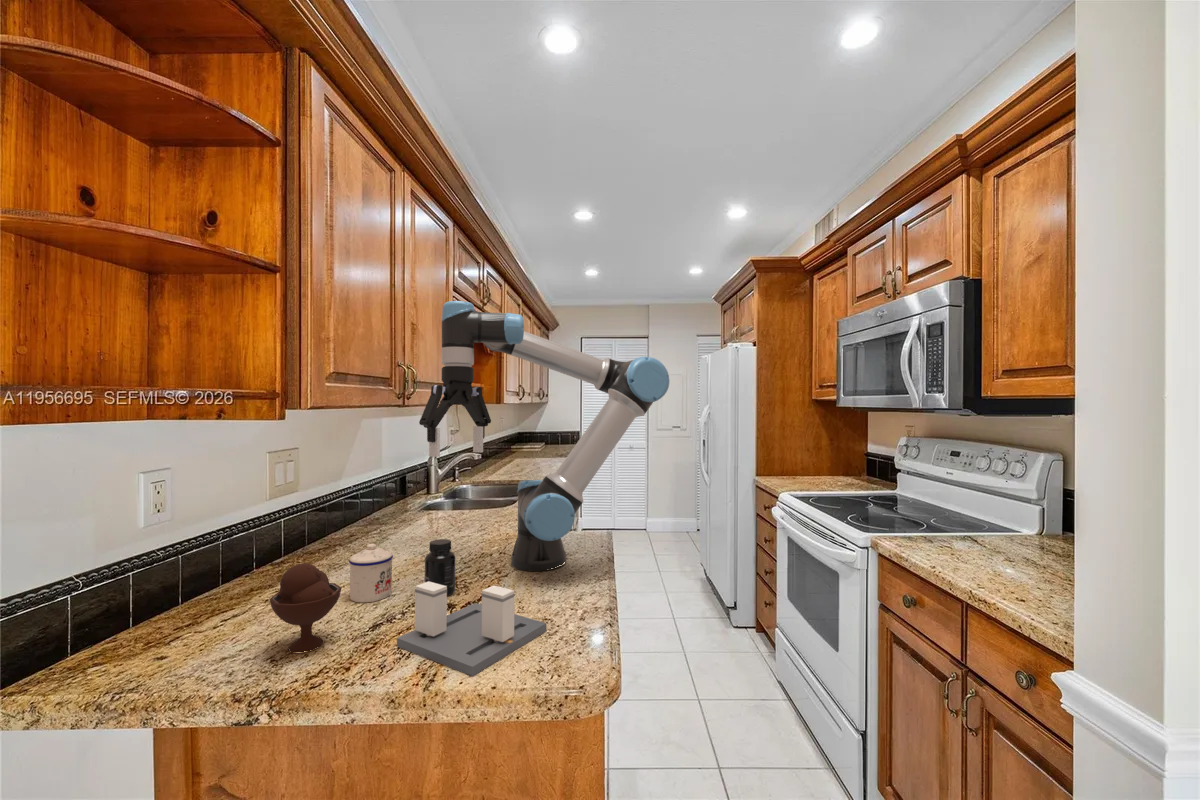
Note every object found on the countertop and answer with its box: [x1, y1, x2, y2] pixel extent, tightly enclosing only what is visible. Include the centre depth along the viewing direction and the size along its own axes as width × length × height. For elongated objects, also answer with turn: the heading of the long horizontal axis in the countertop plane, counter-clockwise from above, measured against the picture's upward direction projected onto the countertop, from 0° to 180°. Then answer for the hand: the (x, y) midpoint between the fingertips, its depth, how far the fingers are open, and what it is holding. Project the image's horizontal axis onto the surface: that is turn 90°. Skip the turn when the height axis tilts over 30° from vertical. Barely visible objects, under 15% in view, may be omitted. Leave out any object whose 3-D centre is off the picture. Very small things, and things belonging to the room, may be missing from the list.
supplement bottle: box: [423, 538, 456, 598], centre depth 115 cm, size 7×7×12 cm
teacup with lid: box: [348, 543, 394, 603], centre depth 115 cm, size 12×9×12 cm
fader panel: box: [396, 602, 547, 677], centre depth 92 cm, size 19×19×2 cm
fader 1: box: [414, 581, 448, 636], centre depth 91 cm, size 3×5×9 cm, turn 58°
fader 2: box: [481, 585, 516, 642], centre depth 89 cm, size 3×5×9 cm, turn 58°
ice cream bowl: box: [269, 562, 342, 652], centre depth 89 cm, size 11×11×15 cm
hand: (457, 454), depth 119 cm, fingers open, 13 cm apart
